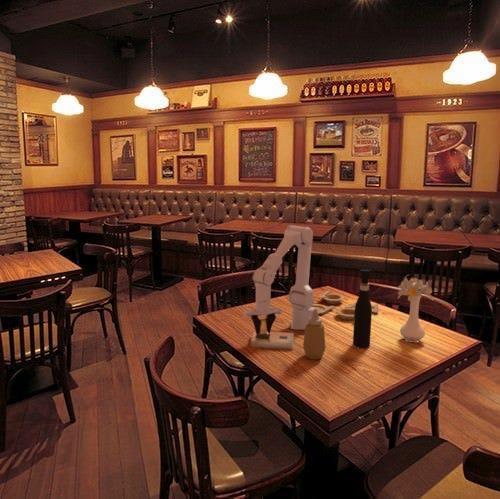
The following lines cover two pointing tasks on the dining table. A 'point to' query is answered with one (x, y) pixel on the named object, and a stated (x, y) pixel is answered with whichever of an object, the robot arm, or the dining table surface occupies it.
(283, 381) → the dining table surface
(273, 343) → the plate
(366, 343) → the wine bottle
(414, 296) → the flower vase
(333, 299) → the tableware set
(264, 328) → the brass fitting
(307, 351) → the squeeze bottle
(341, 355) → the dining table surface
